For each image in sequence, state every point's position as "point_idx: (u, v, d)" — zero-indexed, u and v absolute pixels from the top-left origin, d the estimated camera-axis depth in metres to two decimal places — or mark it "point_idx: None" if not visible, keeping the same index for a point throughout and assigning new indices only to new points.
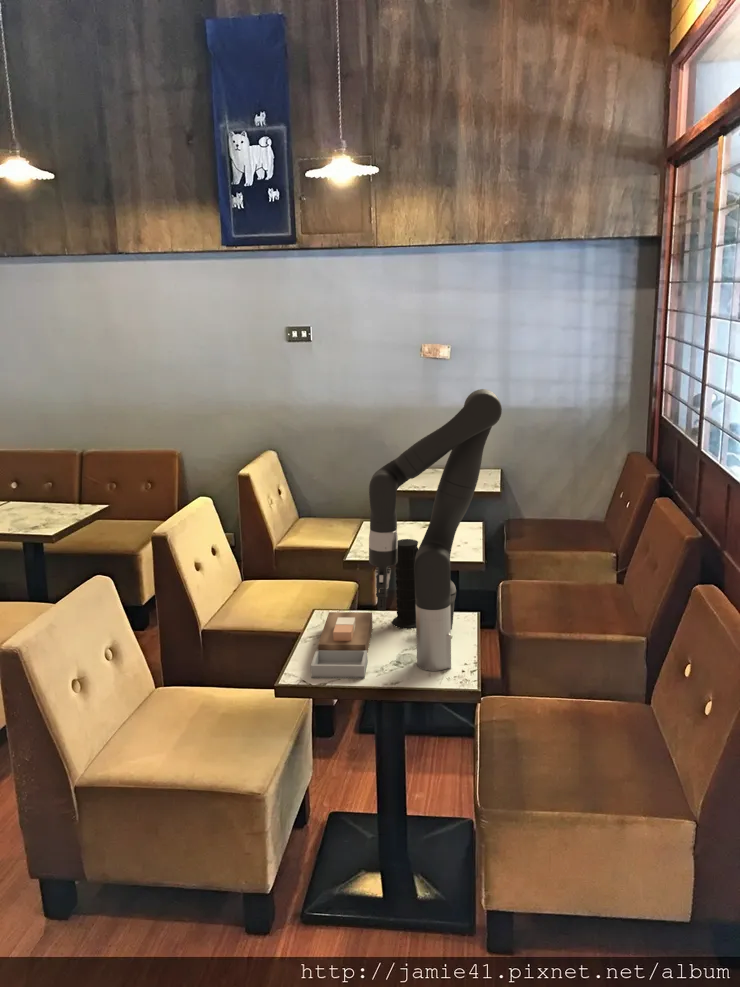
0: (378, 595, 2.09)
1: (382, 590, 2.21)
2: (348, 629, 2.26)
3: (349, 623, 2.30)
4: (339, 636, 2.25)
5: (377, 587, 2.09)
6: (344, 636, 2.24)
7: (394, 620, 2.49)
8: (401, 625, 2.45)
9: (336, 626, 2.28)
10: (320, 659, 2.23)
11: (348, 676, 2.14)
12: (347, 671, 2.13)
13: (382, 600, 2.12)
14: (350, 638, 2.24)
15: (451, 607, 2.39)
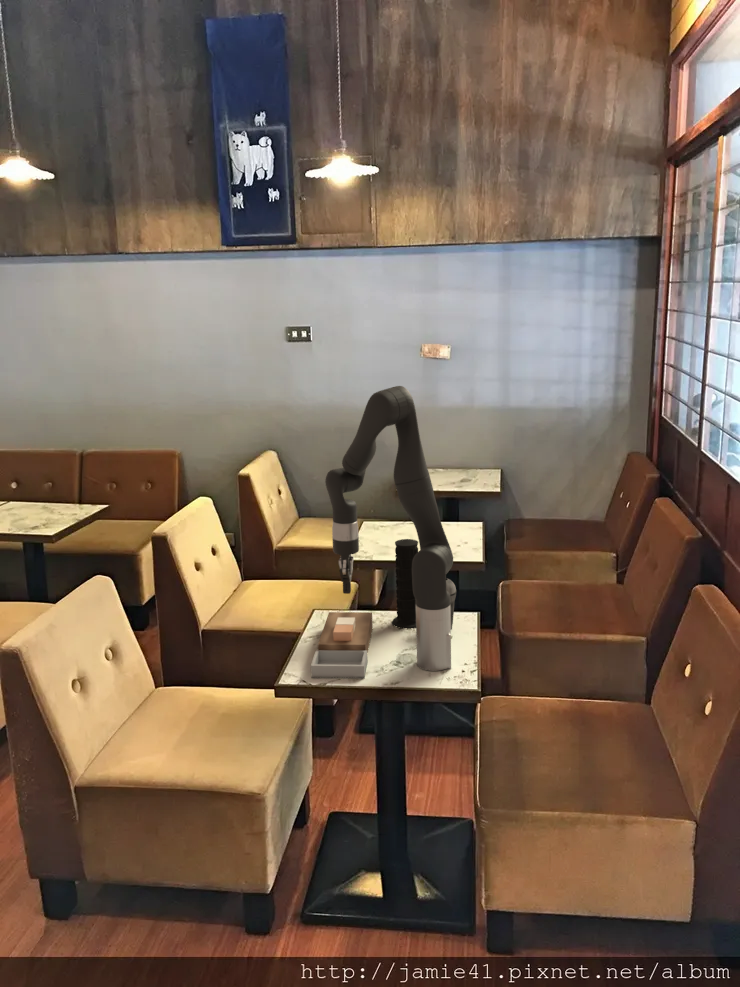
0: (343, 581, 2.35)
1: None
2: (348, 629, 2.26)
3: (349, 623, 2.30)
4: (339, 636, 2.25)
5: (341, 577, 2.33)
6: (344, 636, 2.24)
7: (394, 620, 2.49)
8: (401, 625, 2.45)
9: (336, 626, 2.28)
10: (320, 659, 2.23)
11: (348, 676, 2.14)
12: (347, 671, 2.13)
13: (347, 584, 2.37)
14: (350, 638, 2.24)
15: (451, 607, 2.39)
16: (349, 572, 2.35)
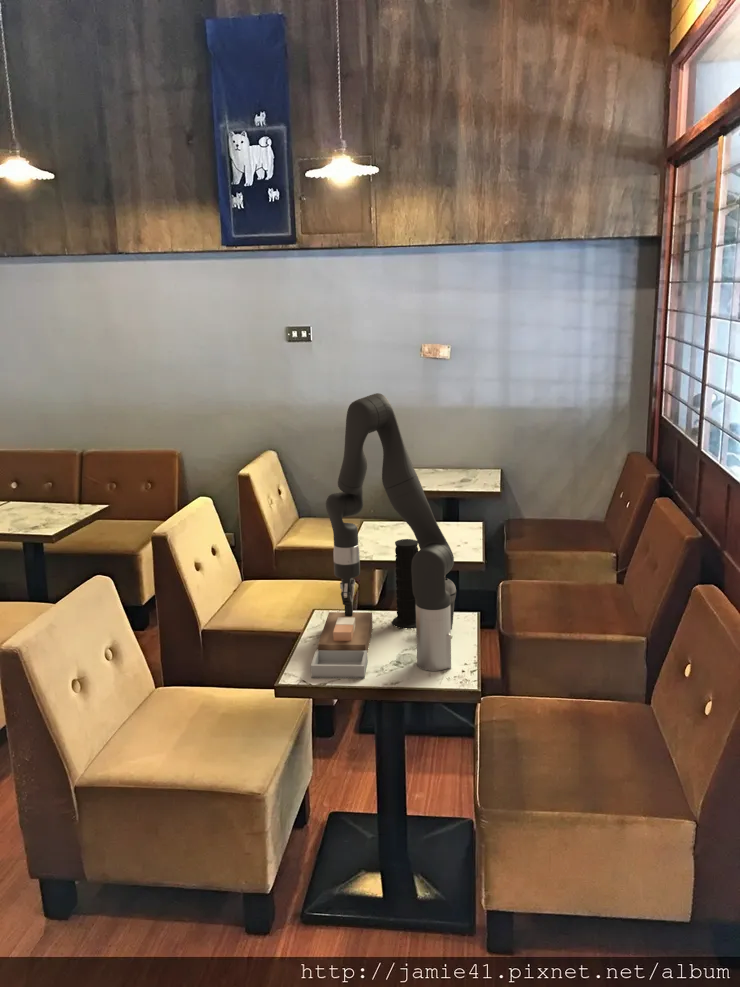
0: (344, 604, 2.36)
1: None
2: (348, 629, 2.26)
3: (349, 623, 2.30)
4: (339, 636, 2.25)
5: (343, 600, 2.34)
6: (344, 636, 2.24)
7: (394, 620, 2.49)
8: (401, 625, 2.45)
9: (336, 626, 2.28)
10: (320, 659, 2.23)
11: (348, 676, 2.14)
12: (347, 671, 2.13)
13: (349, 607, 2.38)
14: (350, 638, 2.24)
15: (451, 607, 2.39)
16: (351, 595, 2.37)
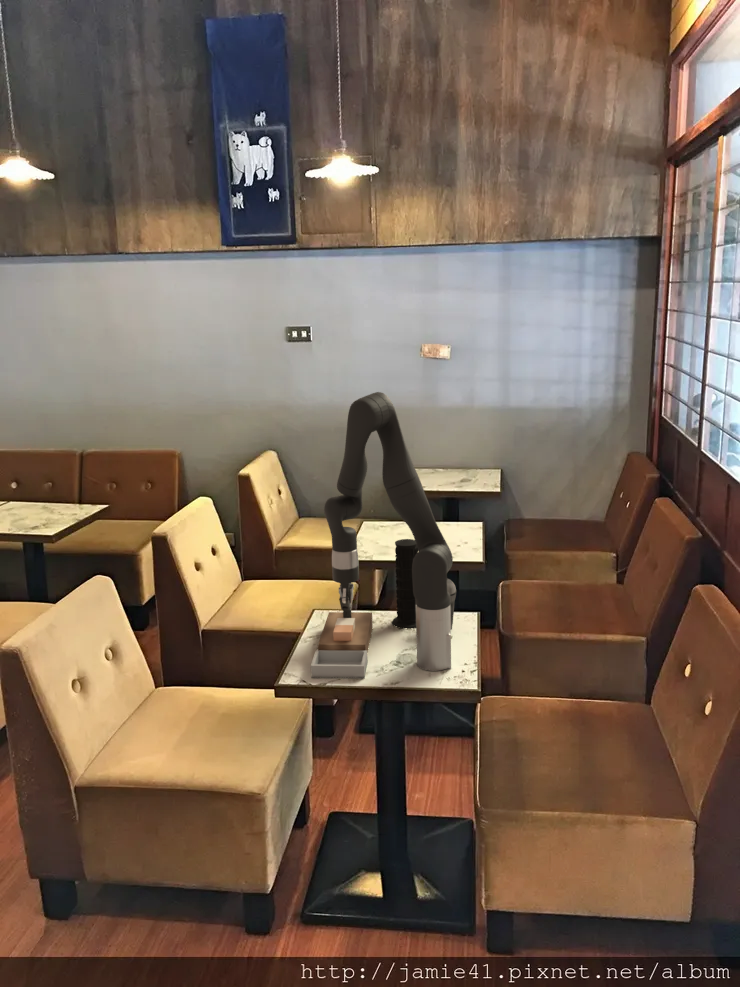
0: (343, 609, 2.32)
1: None
2: (348, 629, 2.26)
3: (348, 623, 2.30)
4: (339, 636, 2.25)
5: (341, 606, 2.30)
6: (344, 636, 2.24)
7: (394, 620, 2.49)
8: (401, 625, 2.45)
9: (336, 626, 2.28)
10: (320, 659, 2.23)
11: (348, 676, 2.14)
12: (347, 671, 2.13)
13: (347, 612, 2.34)
14: (350, 638, 2.24)
15: (451, 607, 2.39)
16: (349, 600, 2.33)
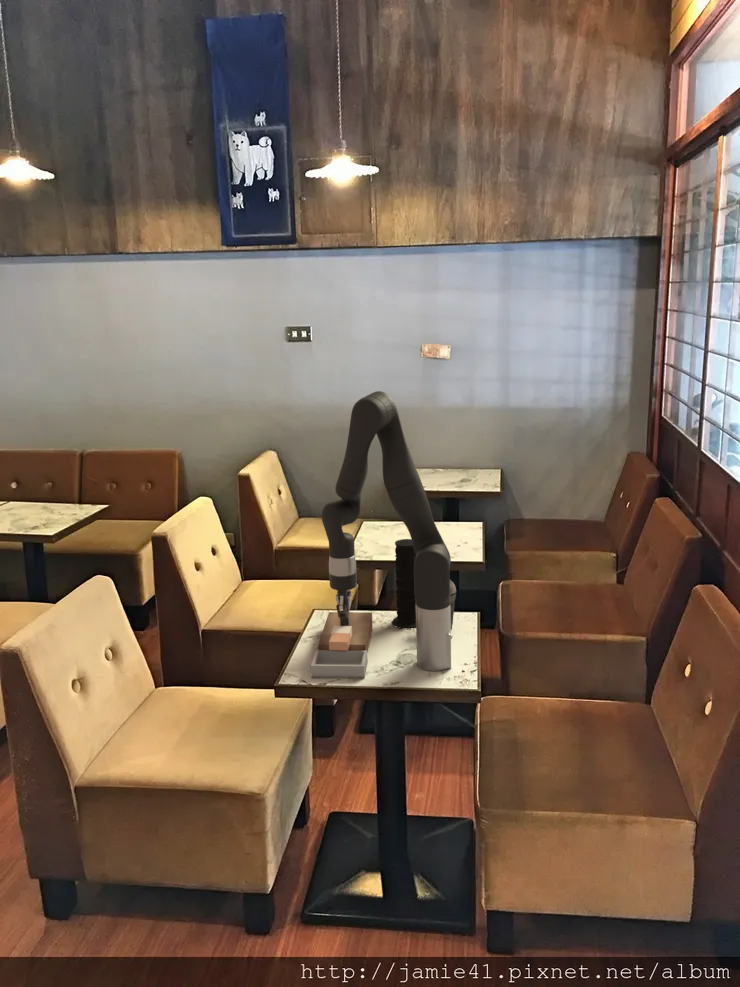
0: (340, 617, 2.26)
1: None
2: (344, 638, 2.20)
3: (345, 631, 2.24)
4: (335, 646, 2.19)
5: (338, 613, 2.25)
6: (340, 646, 2.19)
7: (394, 620, 2.49)
8: (401, 625, 2.45)
9: (333, 634, 2.23)
10: (320, 659, 2.23)
11: (348, 676, 2.14)
12: (347, 671, 2.13)
13: (344, 620, 2.28)
14: (346, 648, 2.19)
15: (451, 607, 2.39)
16: (347, 608, 2.27)
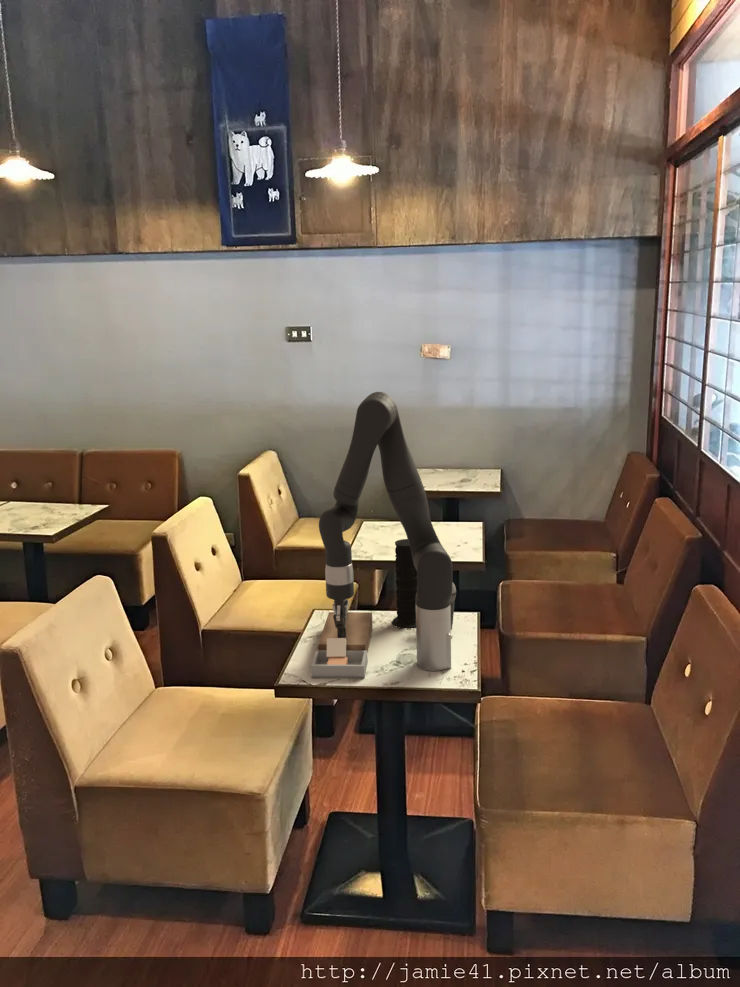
0: (337, 627, 2.19)
1: None
2: None
3: (340, 653, 2.19)
4: None
5: (335, 623, 2.18)
6: None
7: (394, 620, 2.49)
8: (401, 625, 2.45)
9: None
10: (320, 659, 2.23)
11: (348, 676, 2.14)
12: (347, 671, 2.13)
13: (342, 630, 2.22)
14: None
15: (451, 607, 2.39)
16: (344, 618, 2.20)
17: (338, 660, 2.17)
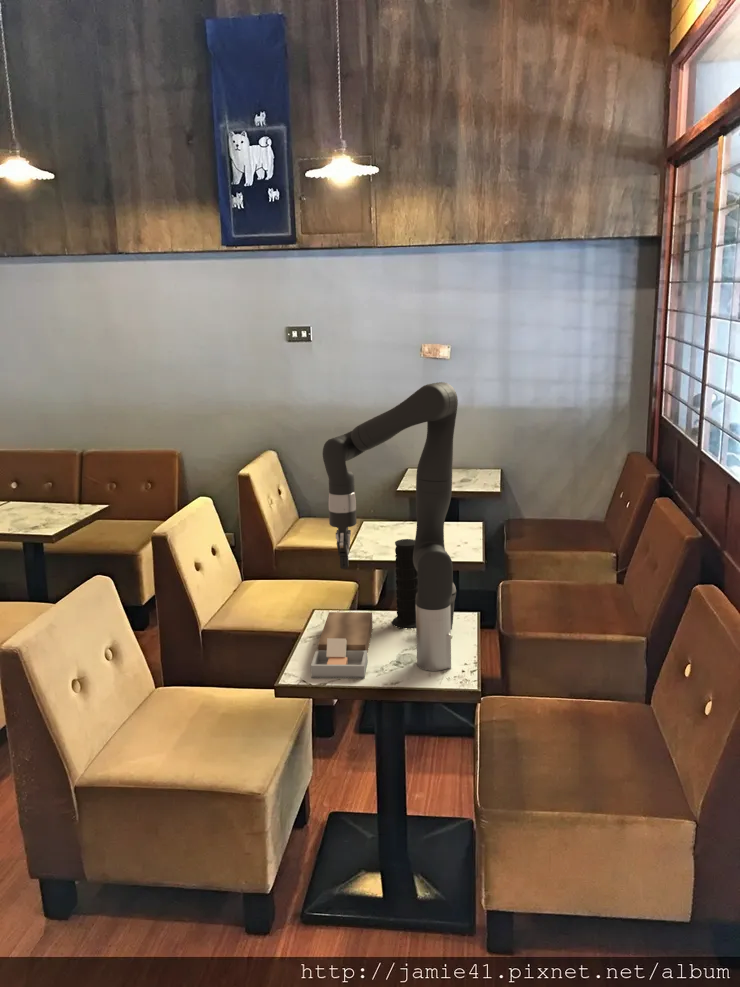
0: (340, 555, 2.25)
1: None
2: None
3: (340, 653, 2.19)
4: None
5: (338, 551, 2.23)
6: None
7: (394, 620, 2.49)
8: (401, 625, 2.45)
9: None
10: (320, 659, 2.23)
11: (348, 676, 2.14)
12: (347, 671, 2.13)
13: (344, 559, 2.27)
14: None
15: (451, 607, 2.39)
16: (346, 546, 2.26)
17: (338, 660, 2.17)
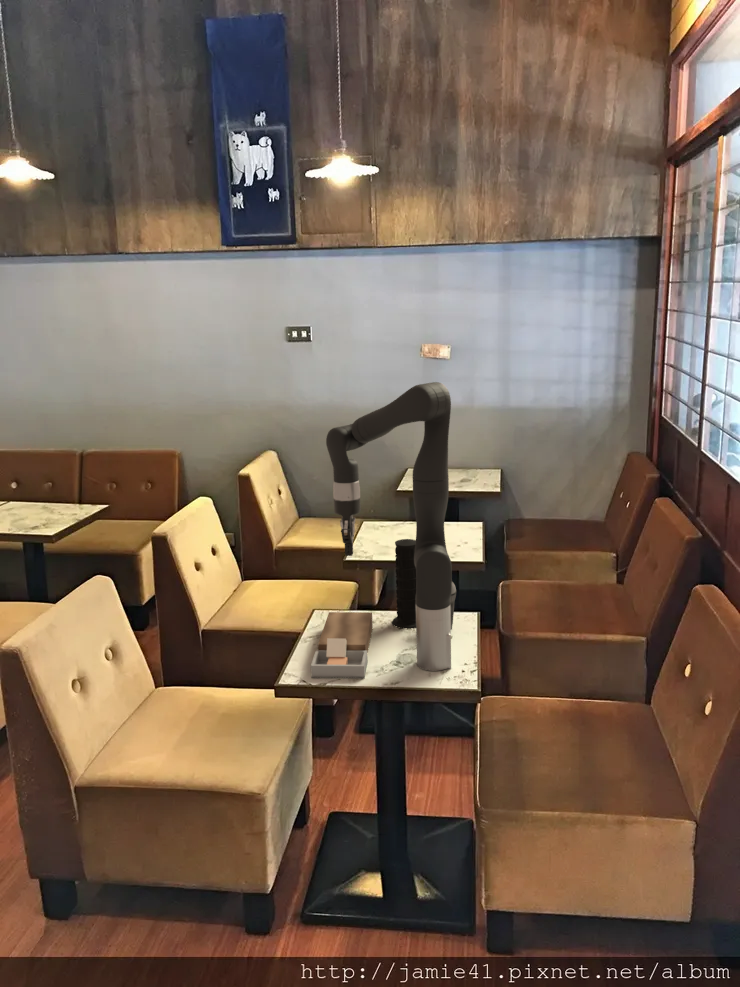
0: (345, 542, 2.30)
1: None
2: None
3: (340, 653, 2.19)
4: None
5: (343, 538, 2.28)
6: None
7: (394, 620, 2.49)
8: (401, 625, 2.45)
9: None
10: (320, 659, 2.23)
11: (348, 676, 2.14)
12: (347, 671, 2.13)
13: (349, 546, 2.32)
14: None
15: (451, 607, 2.39)
16: (351, 533, 2.31)
17: (338, 660, 2.17)
